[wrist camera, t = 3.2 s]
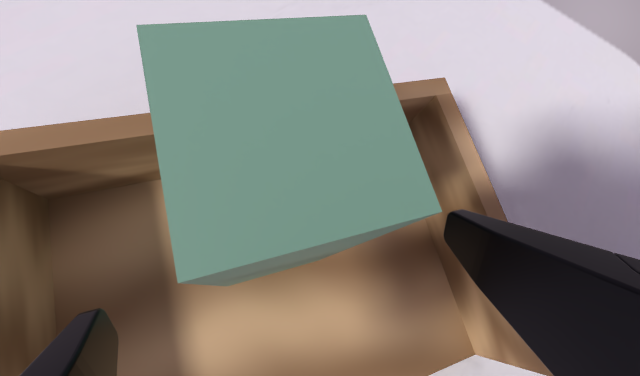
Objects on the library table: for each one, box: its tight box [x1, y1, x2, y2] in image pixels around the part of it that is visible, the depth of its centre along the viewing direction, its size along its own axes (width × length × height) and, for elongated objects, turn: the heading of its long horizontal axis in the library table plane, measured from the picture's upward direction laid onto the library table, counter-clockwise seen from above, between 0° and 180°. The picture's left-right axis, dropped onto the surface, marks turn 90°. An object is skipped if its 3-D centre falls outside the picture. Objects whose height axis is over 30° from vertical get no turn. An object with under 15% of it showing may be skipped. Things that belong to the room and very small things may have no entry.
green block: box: [137, 15, 442, 286], centre depth 12 cm, size 5×5×12 cm
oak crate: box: [0, 78, 553, 376], centre depth 15 cm, size 15×22×6 cm
